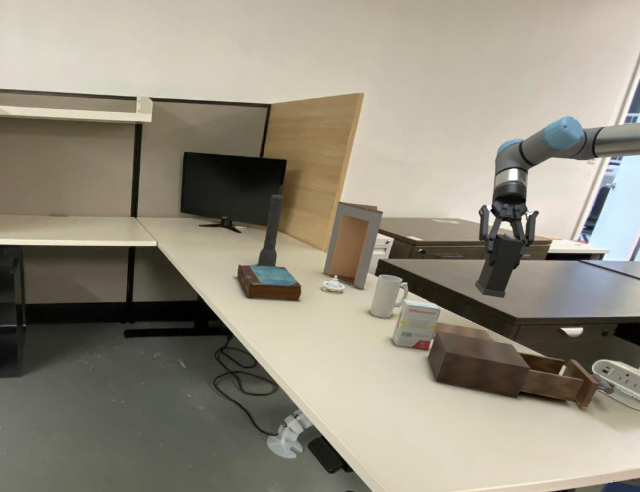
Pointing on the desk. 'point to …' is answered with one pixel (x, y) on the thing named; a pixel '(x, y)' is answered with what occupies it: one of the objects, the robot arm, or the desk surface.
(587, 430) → the desk surface
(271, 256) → the flashlight
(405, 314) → the ink box
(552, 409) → the desk surface
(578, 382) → the drawer
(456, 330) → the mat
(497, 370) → the cabinet
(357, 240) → the cabinet
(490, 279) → the dark grey upright block
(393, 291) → the mug
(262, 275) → the book
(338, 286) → the ring around a ball
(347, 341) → the desk surface
